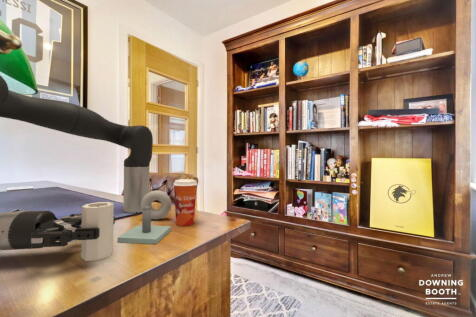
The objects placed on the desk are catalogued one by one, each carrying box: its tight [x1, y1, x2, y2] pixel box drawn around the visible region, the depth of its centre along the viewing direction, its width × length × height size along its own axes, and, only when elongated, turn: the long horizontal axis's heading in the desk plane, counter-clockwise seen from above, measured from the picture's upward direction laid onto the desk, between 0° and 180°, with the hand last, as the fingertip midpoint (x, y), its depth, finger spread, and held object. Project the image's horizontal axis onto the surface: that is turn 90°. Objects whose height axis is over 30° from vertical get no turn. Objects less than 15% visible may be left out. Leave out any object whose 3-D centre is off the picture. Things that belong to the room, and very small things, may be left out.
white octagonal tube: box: [80, 201, 115, 262], centre depth 48 cm, size 5×5×11 cm
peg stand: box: [116, 206, 172, 245], centre depth 60 cm, size 10×10×8 cm
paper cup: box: [173, 178, 199, 227], centre depth 71 cm, size 8×8×14 cm
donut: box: [141, 189, 172, 221], centre depth 75 cm, size 10×4×10 cm, turn 97°
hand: (107, 226), depth 48 cm, fingers open, 8 cm apart
